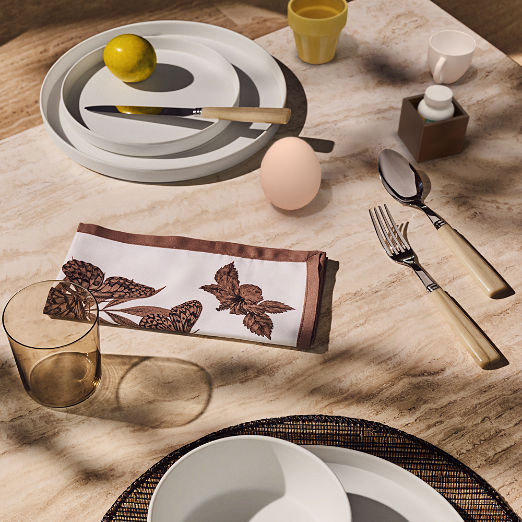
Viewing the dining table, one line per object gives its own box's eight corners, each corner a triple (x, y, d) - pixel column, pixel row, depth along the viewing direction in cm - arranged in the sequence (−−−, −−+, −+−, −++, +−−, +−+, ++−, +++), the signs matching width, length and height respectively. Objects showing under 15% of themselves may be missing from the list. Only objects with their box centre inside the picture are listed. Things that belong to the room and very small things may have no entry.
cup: (474, 71, 120) (483, 37, 115) (453, 101, 114) (461, 67, 109) (433, 59, 123) (439, 25, 117) (411, 88, 117) (416, 54, 112)
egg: (294, 233, 96) (295, 172, 87) (248, 205, 100) (245, 145, 91) (331, 199, 100) (336, 138, 91) (286, 174, 104) (286, 113, 95)
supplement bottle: (442, 131, 109) (453, 81, 102) (449, 153, 106) (462, 102, 99) (409, 133, 109) (417, 82, 102) (415, 155, 106) (424, 104, 99)
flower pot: (304, 33, 129) (305, -16, 122) (353, 47, 126) (357, -3, 118) (277, 61, 124) (277, 11, 116) (328, 76, 120) (331, 26, 113)
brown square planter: (438, 124, 111) (446, 88, 105) (460, 152, 106) (470, 116, 101) (397, 134, 109) (402, 97, 104) (417, 163, 105) (424, 126, 99)
